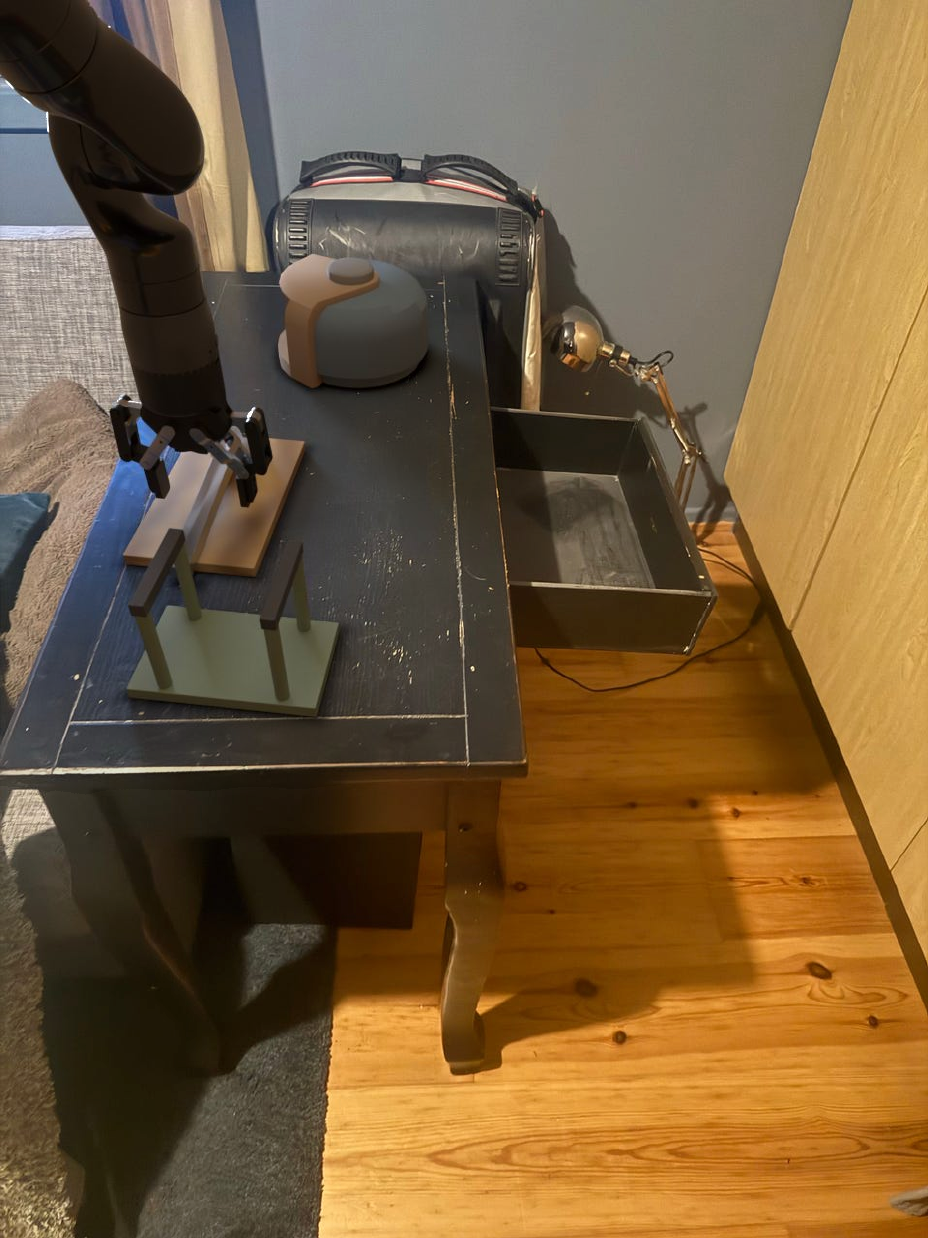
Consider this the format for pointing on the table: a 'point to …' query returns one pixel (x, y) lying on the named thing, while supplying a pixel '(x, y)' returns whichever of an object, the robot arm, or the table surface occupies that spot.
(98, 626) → the table surface
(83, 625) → the table surface
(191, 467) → the board
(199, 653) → the rack
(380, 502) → the table surface
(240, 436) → the ladle
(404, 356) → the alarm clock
